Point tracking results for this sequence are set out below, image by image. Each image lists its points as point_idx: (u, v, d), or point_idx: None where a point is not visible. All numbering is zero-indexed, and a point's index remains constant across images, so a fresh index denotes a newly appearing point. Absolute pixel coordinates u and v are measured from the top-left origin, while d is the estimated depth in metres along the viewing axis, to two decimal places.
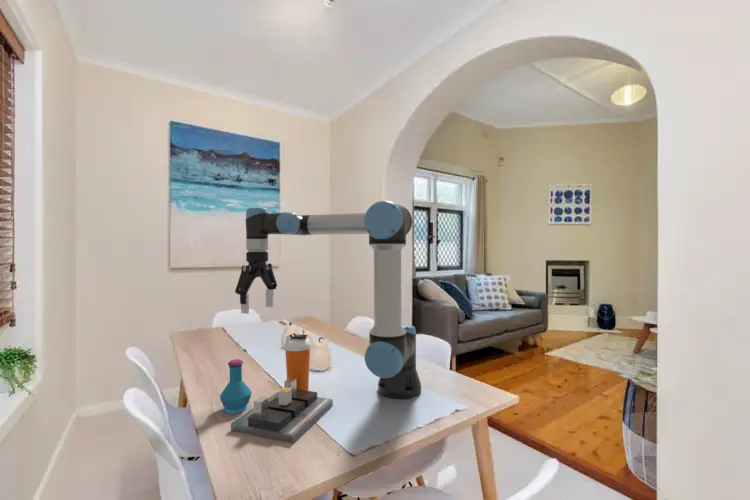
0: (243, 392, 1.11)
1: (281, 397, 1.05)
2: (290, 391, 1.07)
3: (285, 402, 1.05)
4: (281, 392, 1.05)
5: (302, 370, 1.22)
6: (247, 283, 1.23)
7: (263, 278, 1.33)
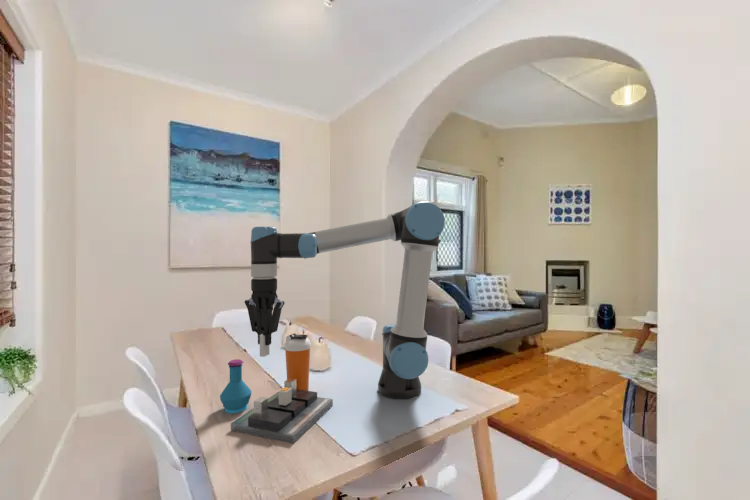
0: (243, 392, 1.11)
1: (281, 397, 1.05)
2: (290, 391, 1.07)
3: (285, 402, 1.05)
4: (281, 392, 1.05)
5: (302, 370, 1.22)
6: None
7: None
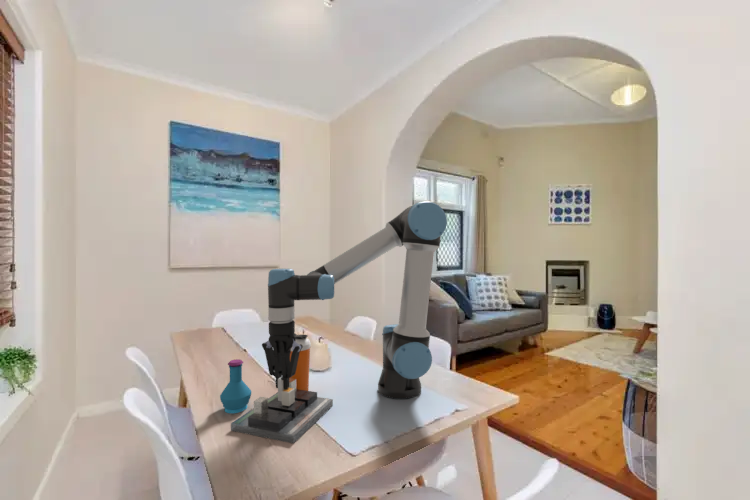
0: (243, 392, 1.11)
1: (284, 397, 1.05)
2: (293, 391, 1.07)
3: (288, 403, 1.05)
4: (284, 392, 1.05)
5: (302, 370, 1.22)
6: None
7: None
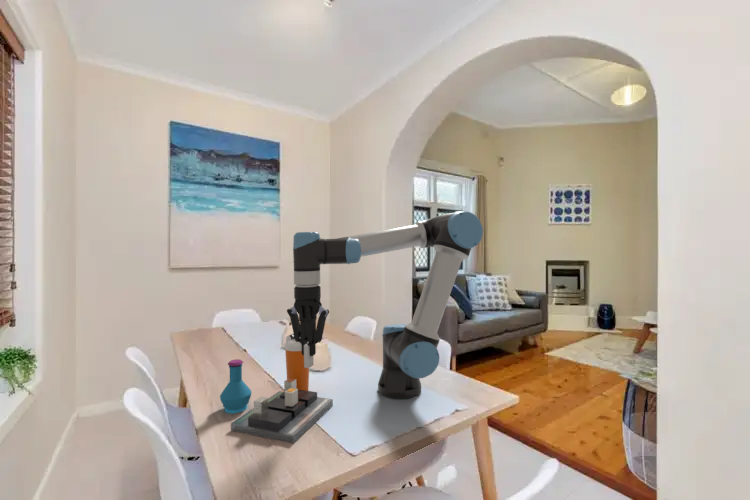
0: (243, 392, 1.11)
1: (287, 398, 1.05)
2: (296, 391, 1.06)
3: (291, 403, 1.04)
4: (287, 393, 1.05)
5: (302, 370, 1.22)
6: None
7: None
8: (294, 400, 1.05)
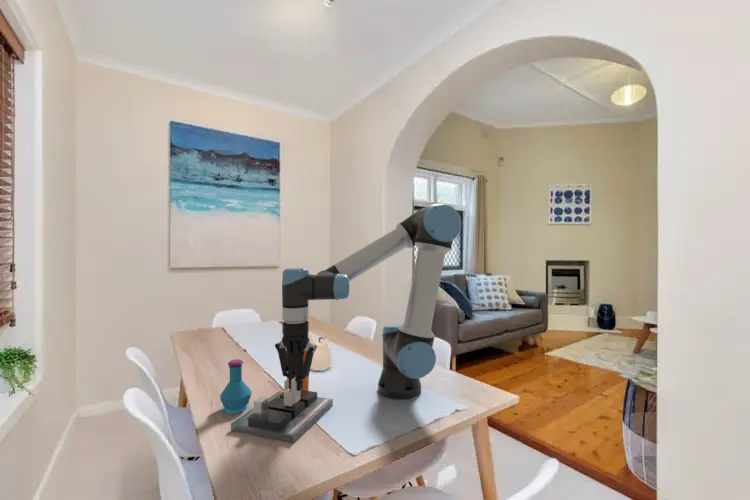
0: (243, 392, 1.11)
1: (286, 398, 1.05)
2: None
3: (290, 403, 1.05)
4: (286, 393, 1.05)
5: None
6: None
7: None
8: None
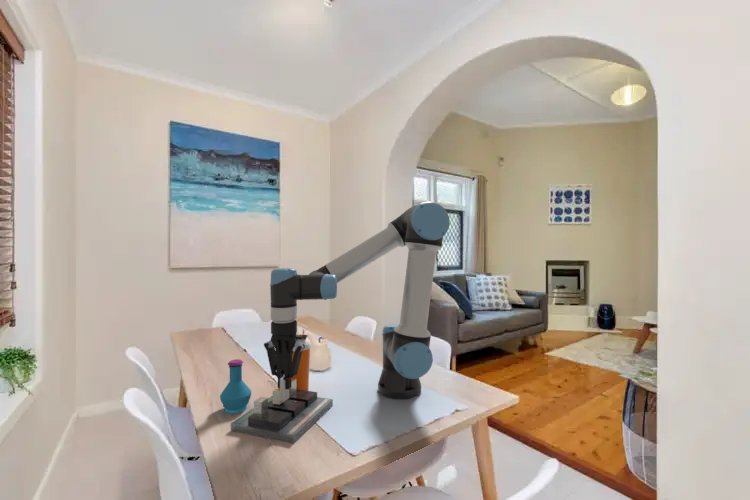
0: (243, 392, 1.11)
1: (275, 396, 1.06)
2: None
3: (279, 401, 1.06)
4: (275, 391, 1.06)
5: (302, 370, 1.22)
6: None
7: None
8: None
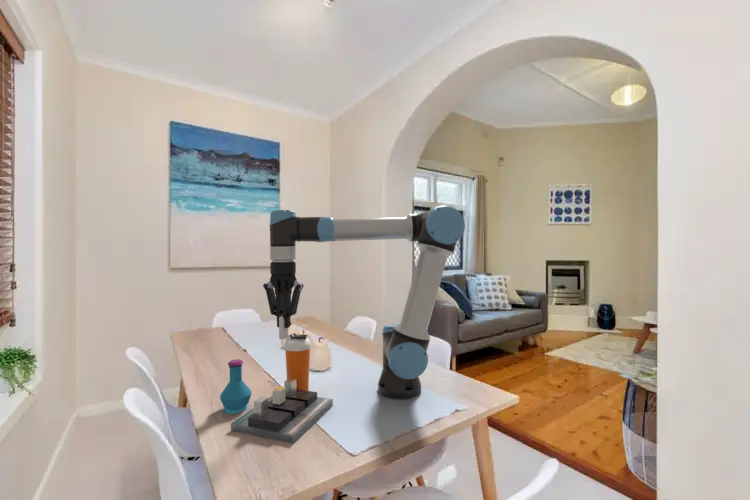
0: (243, 392, 1.11)
1: (275, 396, 1.06)
2: (283, 390, 1.08)
3: (279, 401, 1.06)
4: (275, 391, 1.06)
5: (302, 370, 1.22)
6: None
7: None
8: (281, 398, 1.07)
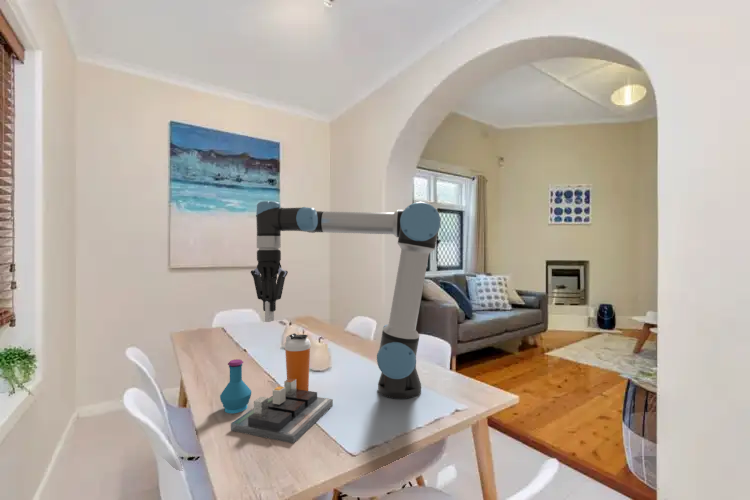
0: (243, 392, 1.11)
1: (275, 396, 1.06)
2: (283, 390, 1.08)
3: (279, 401, 1.06)
4: (275, 391, 1.06)
5: (302, 370, 1.22)
6: None
7: None
8: (281, 398, 1.07)
